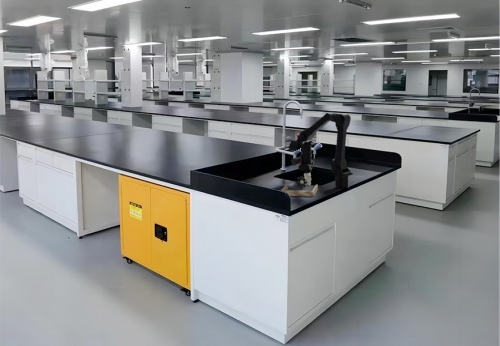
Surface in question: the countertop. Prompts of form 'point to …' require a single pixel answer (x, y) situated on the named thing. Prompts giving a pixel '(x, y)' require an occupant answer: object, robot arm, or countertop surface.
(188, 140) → the countertop surface
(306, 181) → the valve
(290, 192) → the holding jig
